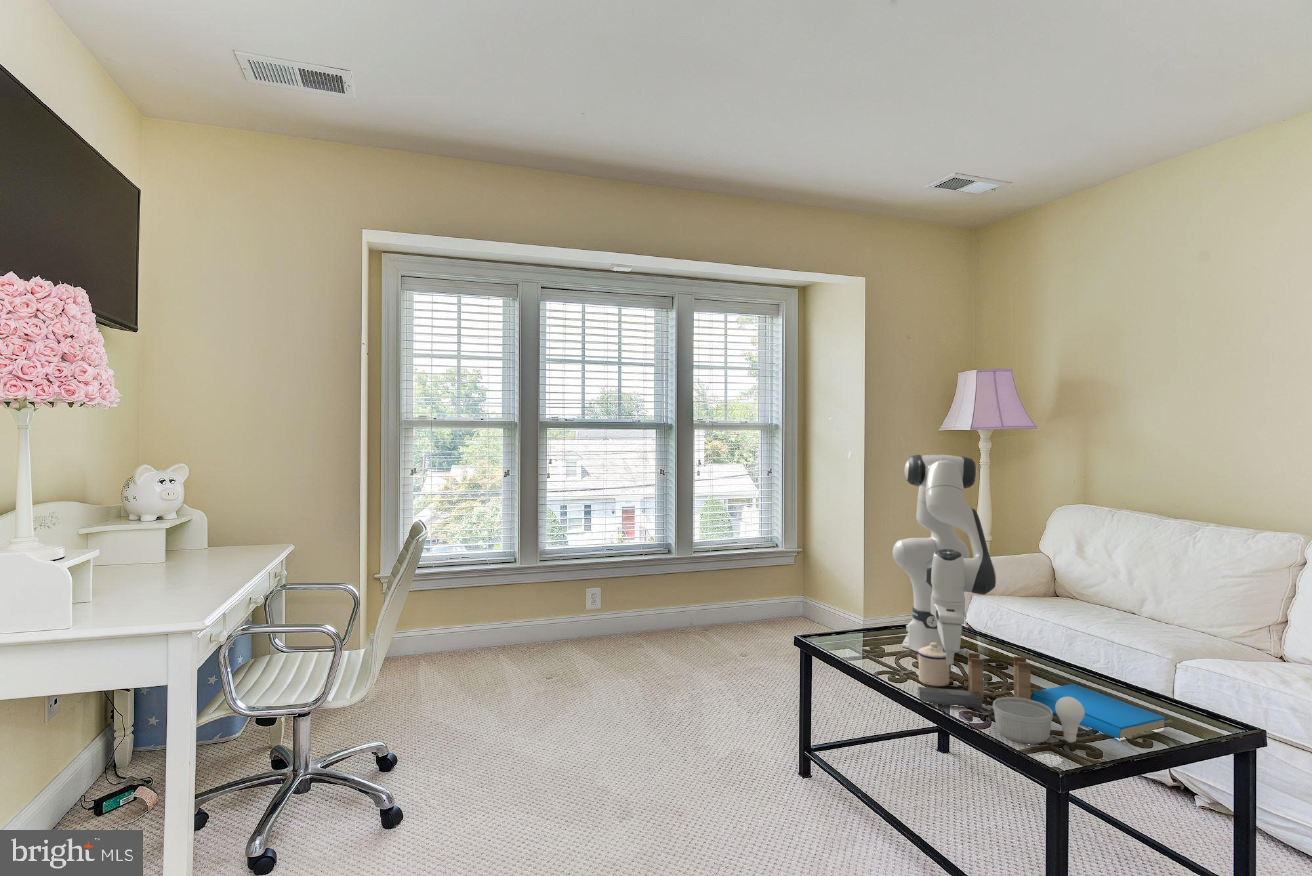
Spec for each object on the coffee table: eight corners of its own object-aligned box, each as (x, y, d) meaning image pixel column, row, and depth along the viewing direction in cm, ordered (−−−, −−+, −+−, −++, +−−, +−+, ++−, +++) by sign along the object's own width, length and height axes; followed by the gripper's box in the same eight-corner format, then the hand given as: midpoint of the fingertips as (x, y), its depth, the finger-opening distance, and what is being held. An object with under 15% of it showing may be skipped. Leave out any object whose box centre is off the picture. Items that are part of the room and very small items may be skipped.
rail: (918, 699, 192) (918, 686, 192) (979, 704, 188) (979, 691, 188) (919, 704, 188) (919, 691, 188) (981, 709, 184) (981, 696, 184)
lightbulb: (1050, 740, 164) (1050, 696, 164) (1063, 735, 168) (1063, 690, 168) (1076, 750, 159) (1076, 704, 159) (1089, 744, 162) (1089, 699, 162)
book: (1072, 683, 193) (1165, 715, 170) (1072, 698, 193) (1166, 732, 170) (1029, 691, 187) (1120, 726, 164) (1029, 707, 187) (1120, 744, 164)
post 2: (1013, 695, 193) (1013, 656, 193) (1025, 696, 192) (1025, 657, 192) (1018, 703, 187) (1018, 662, 187) (1030, 704, 186) (1030, 663, 186)
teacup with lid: (956, 685, 201) (956, 646, 201) (930, 688, 199) (930, 649, 199) (931, 671, 213) (930, 635, 213) (906, 674, 211) (905, 637, 211)
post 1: (968, 691, 197) (968, 652, 197) (979, 692, 196) (979, 653, 196) (971, 699, 191) (971, 658, 191) (983, 700, 190) (983, 659, 190)
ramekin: (1012, 747, 161) (1012, 718, 161) (982, 724, 174) (981, 697, 174) (1065, 745, 162) (1065, 716, 162) (1030, 722, 175) (1030, 695, 175)
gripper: (932, 598, 199) (931, 644, 199) (939, 618, 179) (939, 669, 180) (955, 600, 197) (954, 646, 197) (965, 620, 178) (965, 671, 178)
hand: (947, 657), depth 188 cm, fingers open, 8 cm apart
